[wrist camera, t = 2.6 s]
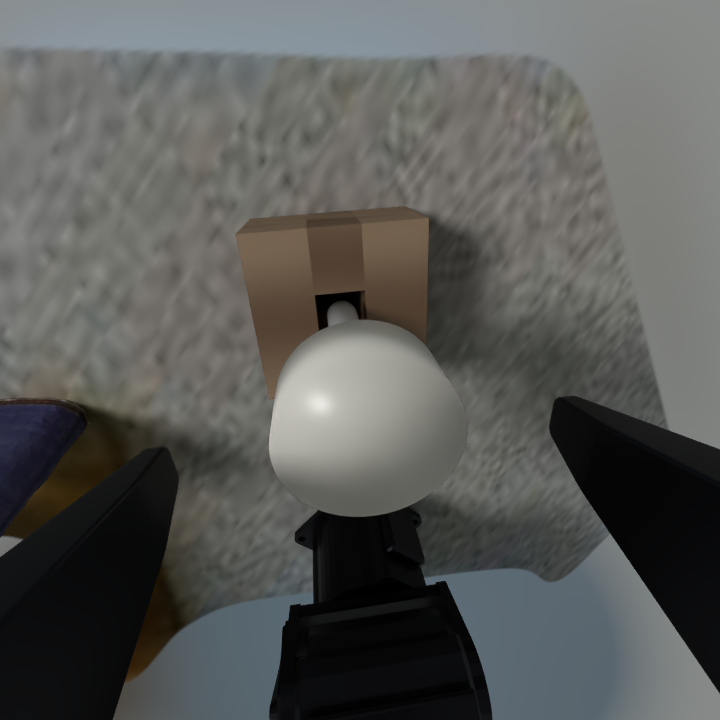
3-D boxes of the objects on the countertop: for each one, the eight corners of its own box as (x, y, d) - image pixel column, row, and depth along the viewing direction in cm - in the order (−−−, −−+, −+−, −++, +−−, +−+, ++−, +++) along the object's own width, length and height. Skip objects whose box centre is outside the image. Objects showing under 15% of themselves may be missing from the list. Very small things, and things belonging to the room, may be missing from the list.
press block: (405, 343, 21) (425, 381, 17) (275, 358, 20) (269, 399, 17) (404, 206, 18) (429, 217, 14) (250, 219, 17) (235, 234, 14)
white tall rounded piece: (395, 356, 17) (461, 503, 10) (295, 368, 17) (285, 528, 9) (393, 255, 15) (475, 345, 8) (279, 266, 15) (250, 370, 7)
